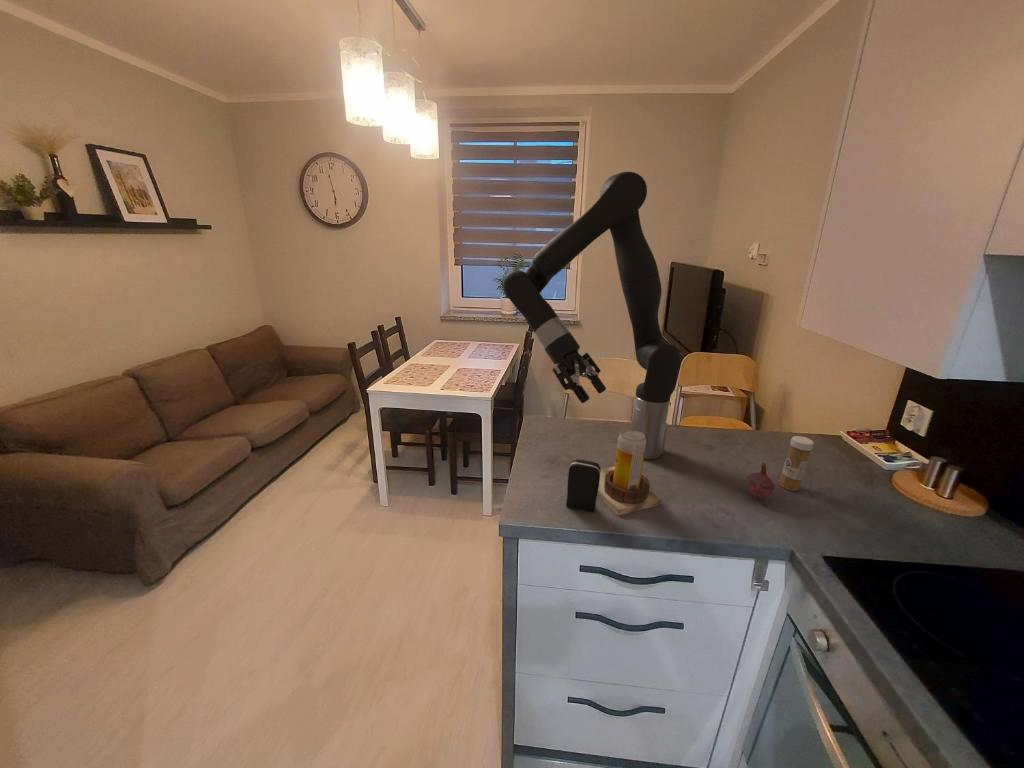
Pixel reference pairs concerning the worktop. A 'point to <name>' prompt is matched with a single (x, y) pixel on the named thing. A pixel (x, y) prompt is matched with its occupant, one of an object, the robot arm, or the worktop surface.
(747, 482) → the vegetable
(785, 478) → the sprinkles bottle
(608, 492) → the collar board
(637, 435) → the beer can
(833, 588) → the worktop surface
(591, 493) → the battery charger
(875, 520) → the worktop surface
